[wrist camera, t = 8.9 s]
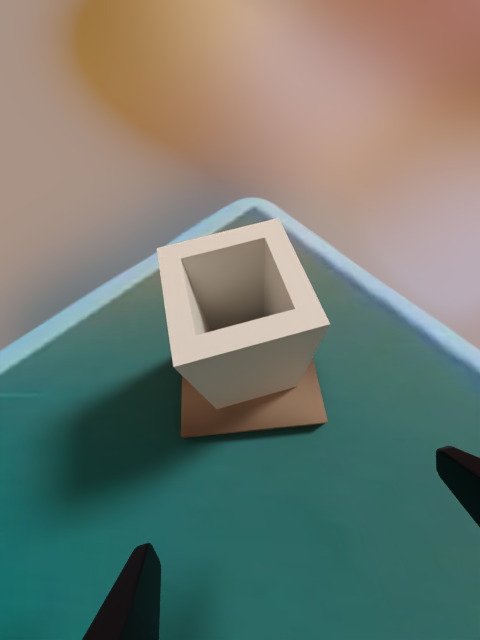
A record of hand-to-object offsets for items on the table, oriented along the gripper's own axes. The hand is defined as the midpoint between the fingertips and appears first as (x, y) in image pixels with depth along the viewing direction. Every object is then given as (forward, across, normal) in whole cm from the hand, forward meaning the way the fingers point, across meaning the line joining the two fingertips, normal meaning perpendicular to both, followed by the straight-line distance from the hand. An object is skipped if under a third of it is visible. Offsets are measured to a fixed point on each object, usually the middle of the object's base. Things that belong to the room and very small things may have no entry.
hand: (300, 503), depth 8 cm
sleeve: (+12, 0, +1) cm, 12 cm away
